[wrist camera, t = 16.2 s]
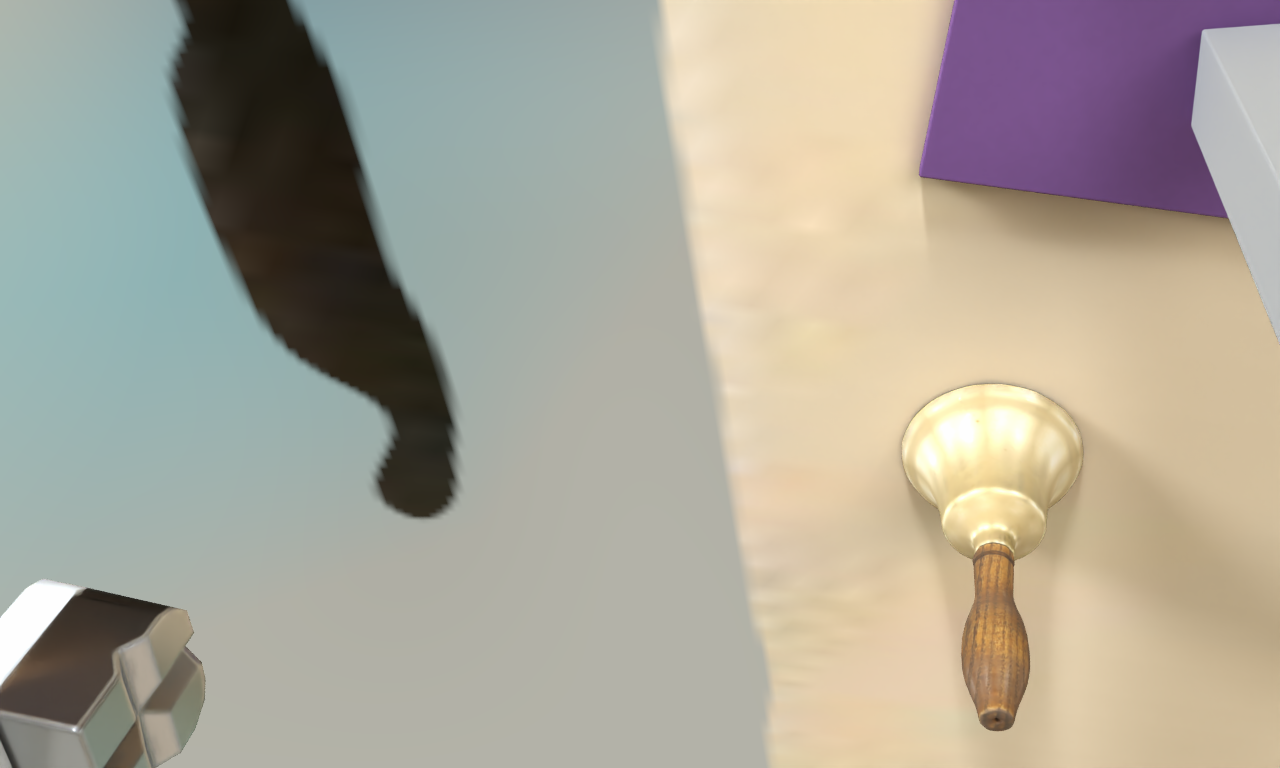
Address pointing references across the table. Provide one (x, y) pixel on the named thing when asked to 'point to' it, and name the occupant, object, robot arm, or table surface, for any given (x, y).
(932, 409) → the hand bell
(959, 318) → the table surface
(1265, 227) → the vintage mobile phone
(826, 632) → the table surface
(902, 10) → the table surface
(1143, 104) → the mat
